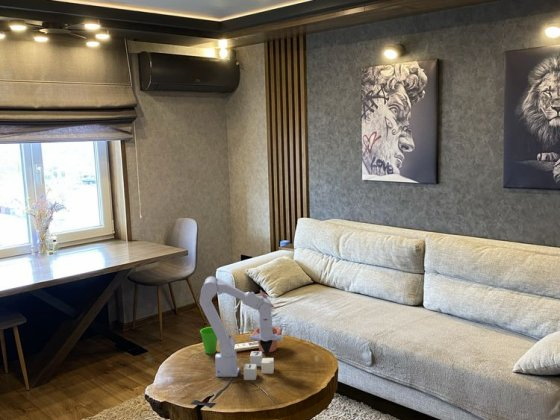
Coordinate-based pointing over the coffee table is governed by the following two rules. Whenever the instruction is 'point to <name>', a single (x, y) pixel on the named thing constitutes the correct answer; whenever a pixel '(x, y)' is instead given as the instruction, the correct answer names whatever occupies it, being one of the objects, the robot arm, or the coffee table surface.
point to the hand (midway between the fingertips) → (267, 355)
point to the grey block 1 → (250, 371)
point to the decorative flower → (274, 329)
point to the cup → (209, 340)
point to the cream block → (267, 365)
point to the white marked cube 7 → (256, 357)
